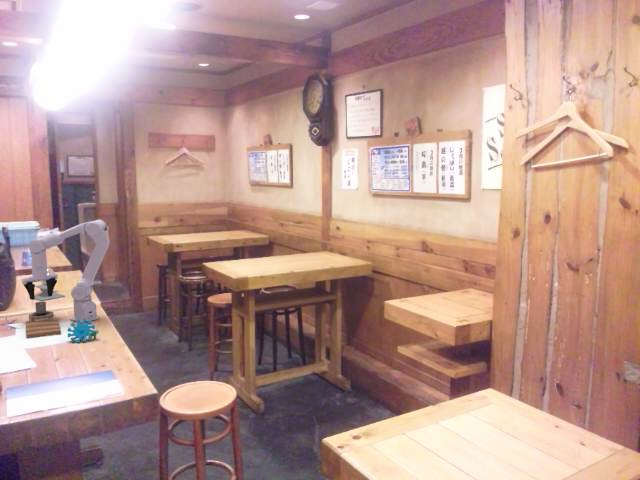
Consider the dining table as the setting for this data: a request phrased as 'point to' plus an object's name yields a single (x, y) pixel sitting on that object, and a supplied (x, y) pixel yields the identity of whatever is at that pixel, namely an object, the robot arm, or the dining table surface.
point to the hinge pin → (40, 308)
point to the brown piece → (42, 325)
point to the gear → (82, 331)
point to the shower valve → (46, 294)
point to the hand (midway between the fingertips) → (41, 297)
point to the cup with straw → (49, 271)
